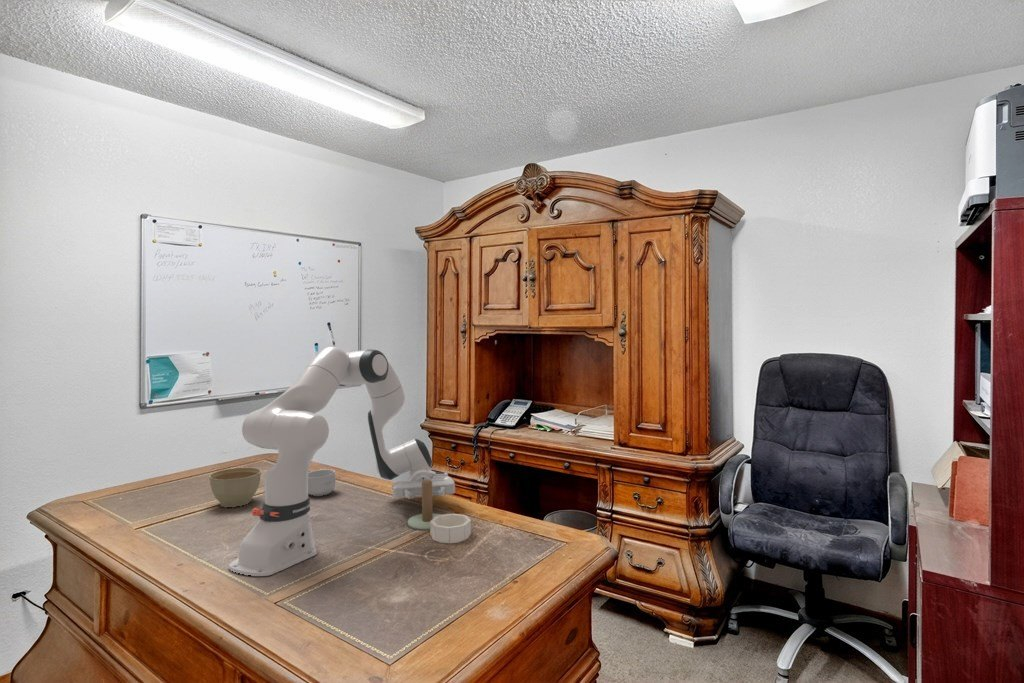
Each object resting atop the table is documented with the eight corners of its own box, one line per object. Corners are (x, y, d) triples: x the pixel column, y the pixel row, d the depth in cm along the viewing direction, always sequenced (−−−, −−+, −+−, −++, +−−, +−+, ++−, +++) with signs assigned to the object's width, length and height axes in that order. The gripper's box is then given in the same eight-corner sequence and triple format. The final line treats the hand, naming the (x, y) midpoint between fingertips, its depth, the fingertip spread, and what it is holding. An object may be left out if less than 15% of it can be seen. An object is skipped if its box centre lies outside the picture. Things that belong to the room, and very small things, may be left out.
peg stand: (435, 531, 161) (435, 489, 160) (400, 527, 165) (399, 485, 164) (453, 518, 172) (452, 478, 172) (419, 513, 176) (419, 474, 176)
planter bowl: (240, 513, 180) (240, 480, 180) (198, 510, 183) (198, 478, 183) (271, 497, 196) (270, 468, 195) (232, 495, 199) (231, 466, 199)
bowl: (459, 547, 151) (459, 529, 151) (424, 542, 155) (424, 524, 155) (475, 532, 161) (475, 516, 161) (442, 528, 165) (442, 512, 165)
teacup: (329, 498, 194) (329, 476, 194) (299, 498, 195) (299, 476, 194) (342, 487, 208) (342, 466, 208) (314, 487, 209) (314, 466, 208)
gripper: (391, 476, 183) (392, 487, 170) (451, 472, 188) (457, 483, 174) (391, 494, 183) (392, 507, 170) (451, 490, 188) (457, 502, 175)
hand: (425, 495), depth 172 cm, fingers open, 8 cm apart
